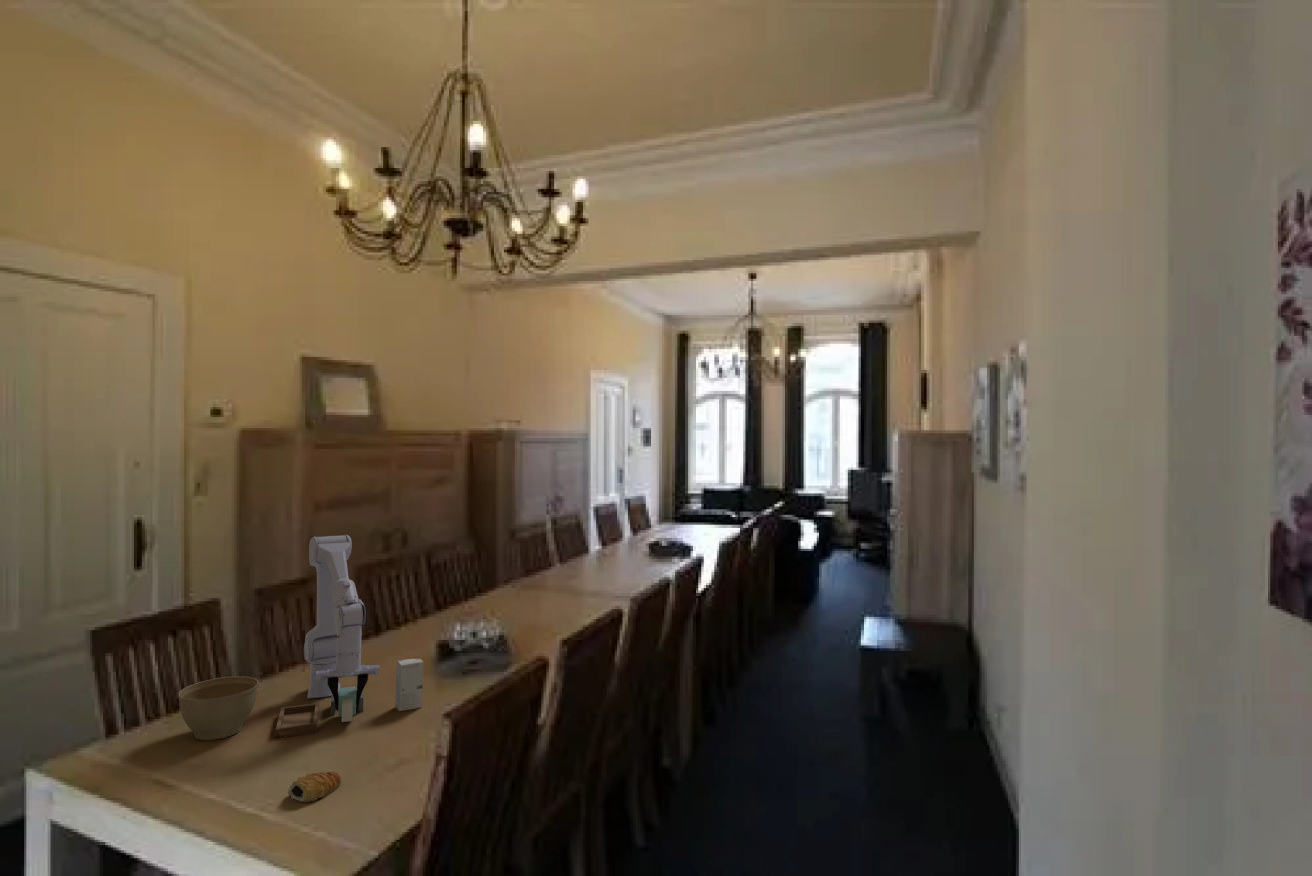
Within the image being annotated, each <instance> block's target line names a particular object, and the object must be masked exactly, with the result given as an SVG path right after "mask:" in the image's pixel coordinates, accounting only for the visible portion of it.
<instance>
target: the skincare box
mask: <svg viewBox="0 0 1312 876" xmlns="http://www.w3.org/2000/svg"><path fill="white" fill-rule="evenodd" d="M395 678H396V679H395V704H394V707H395V708H396V710H397V711H398V712H404V711H409V710H414V709H416V710H417V709H420V708H422V706H423V703H422V702H423V686H424V685H423V682H424V681H423V680H424V661H423V660H422V659H421V658H419V657H418V658H411V659H410V658H409V659H403V660H397V661H396V677H395Z"/></svg>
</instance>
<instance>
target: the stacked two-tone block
mask: <svg viewBox="0 0 1312 876" xmlns="http://www.w3.org/2000/svg"><path fill="white" fill-rule="evenodd" d="M356 690H357V685H356V686H348V687H340V688H339V705H338V708H337V709H338V712H337V717H341V723H345V722H346V723H347V722H353V715H356V714H357V711H356V710H357V706H356Z"/></svg>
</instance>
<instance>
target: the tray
mask: <svg viewBox="0 0 1312 876" xmlns="http://www.w3.org/2000/svg"><path fill="white" fill-rule="evenodd" d="M319 714H320V703H319V702H317V703H310V704H301V705H300V704H299V705H293V706H285V707H284V706H282V707H281V708H280V711H279V715H278V719H277V723H276V727H275V736H274V738H275V739H279V738H278V737H280V738H285V737H284V736H287V737H293V736H300V735H309V734H316V733H317V731H318V730H317V729H318V720H319Z"/></svg>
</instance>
